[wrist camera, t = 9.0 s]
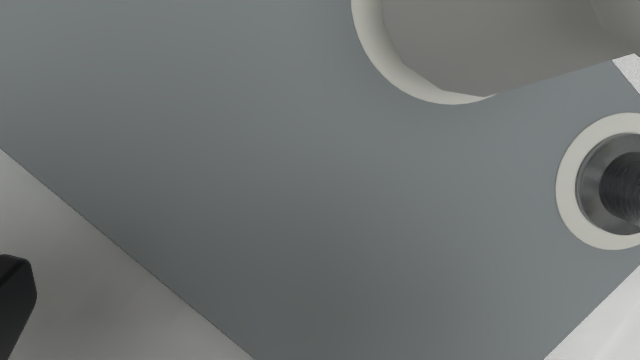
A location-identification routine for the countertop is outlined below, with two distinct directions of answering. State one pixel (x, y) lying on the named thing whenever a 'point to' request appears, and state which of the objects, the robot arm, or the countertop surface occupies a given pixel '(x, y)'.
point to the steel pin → (611, 184)
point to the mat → (317, 174)
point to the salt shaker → (508, 39)
